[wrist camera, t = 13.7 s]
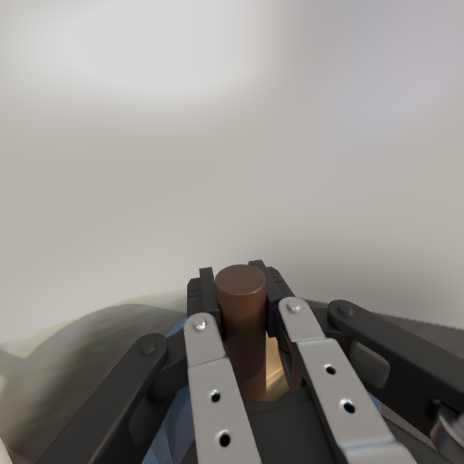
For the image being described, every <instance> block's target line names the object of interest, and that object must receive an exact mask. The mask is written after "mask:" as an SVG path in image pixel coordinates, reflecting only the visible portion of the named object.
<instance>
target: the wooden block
mask: <svg viewBox="0 0 464 464" xmlns="http://www.w3.org/2000/svg"><path fill="white" fill-rule="evenodd" d="M287 392H289V387H288V384H287V380H286V377H285V374H284V370H283V367H282V363H281V360H280V357H279V353H278V349H277V340H276V337H273V338H269V337H268V334H267V332H266V401H267V402H275V401H277V400H278V399H279V398H281V397H282V396H283V395H285V394H286V393H287Z"/></svg>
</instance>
